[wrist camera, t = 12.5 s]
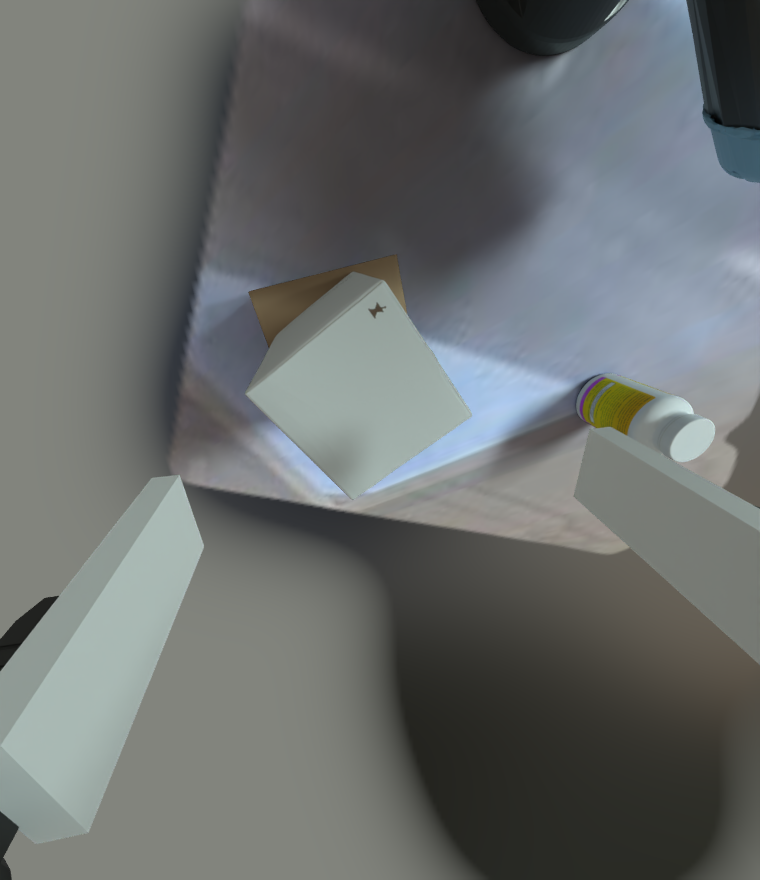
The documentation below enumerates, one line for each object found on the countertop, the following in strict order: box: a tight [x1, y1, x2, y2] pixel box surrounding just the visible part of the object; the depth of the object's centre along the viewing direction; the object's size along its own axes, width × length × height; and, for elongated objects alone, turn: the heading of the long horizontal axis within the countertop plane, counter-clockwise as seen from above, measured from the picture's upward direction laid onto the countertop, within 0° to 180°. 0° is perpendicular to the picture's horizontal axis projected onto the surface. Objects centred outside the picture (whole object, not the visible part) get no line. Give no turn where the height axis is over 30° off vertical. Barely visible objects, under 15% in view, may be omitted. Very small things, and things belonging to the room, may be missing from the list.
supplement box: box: [245, 272, 472, 500], centre depth 25 cm, size 9×9×15 cm
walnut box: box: [249, 254, 407, 348], centre depth 34 cm, size 12×12×6 cm
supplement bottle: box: [576, 373, 715, 462], centre depth 40 cm, size 7×7×13 cm
